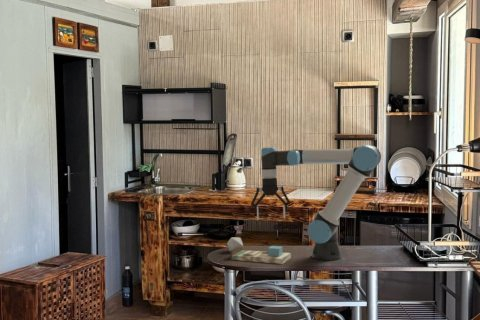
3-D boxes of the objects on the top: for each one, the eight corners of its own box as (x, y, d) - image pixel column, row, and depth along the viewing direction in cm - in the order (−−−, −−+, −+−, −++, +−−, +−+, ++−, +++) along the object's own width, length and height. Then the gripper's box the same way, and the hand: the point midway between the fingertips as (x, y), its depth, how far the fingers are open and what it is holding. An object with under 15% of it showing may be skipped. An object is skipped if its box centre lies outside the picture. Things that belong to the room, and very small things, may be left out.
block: (282, 254, 278) (282, 246, 278) (279, 256, 272) (279, 248, 272) (271, 253, 280) (271, 245, 280) (267, 255, 274) (267, 248, 274)
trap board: (290, 257, 280) (290, 248, 280) (282, 263, 267) (282, 254, 267) (240, 253, 291) (240, 245, 291) (230, 259, 278) (230, 250, 278)
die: (245, 251, 299) (237, 236, 303) (245, 247, 292) (238, 231, 295) (232, 257, 298) (224, 242, 301) (232, 253, 290) (224, 237, 294)
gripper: (293, 176, 280) (294, 216, 280) (245, 178, 280) (246, 218, 280) (294, 177, 272) (296, 218, 273) (245, 179, 272) (247, 221, 273)
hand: (271, 218), depth 277 cm, fingers open, 13 cm apart
